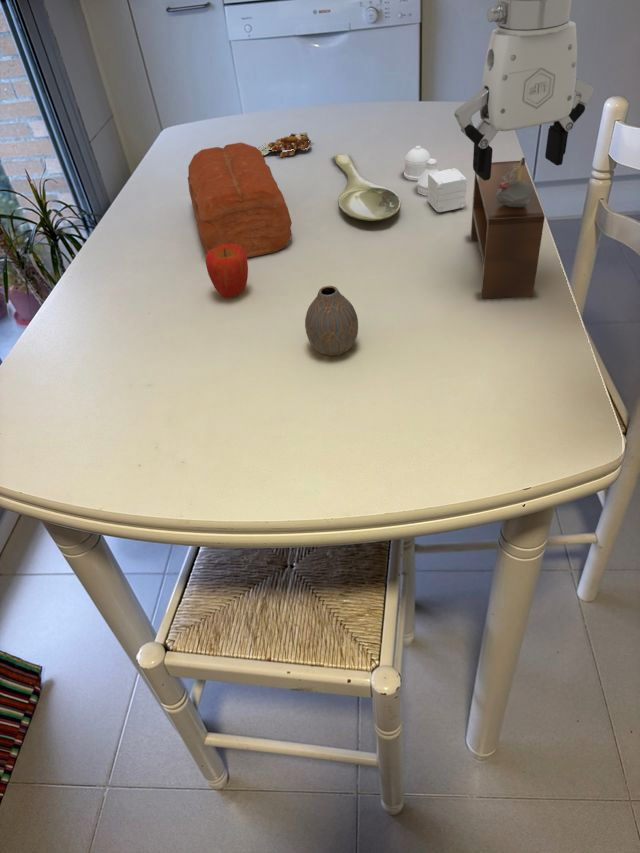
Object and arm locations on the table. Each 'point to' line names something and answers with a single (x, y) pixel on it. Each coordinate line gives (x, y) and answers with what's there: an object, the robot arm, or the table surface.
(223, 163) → the bread
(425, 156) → the container set
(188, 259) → the table surface
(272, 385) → the table surface
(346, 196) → the spoon
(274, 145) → the pastry
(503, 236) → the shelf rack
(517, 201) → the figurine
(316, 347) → the vase
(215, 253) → the apple
